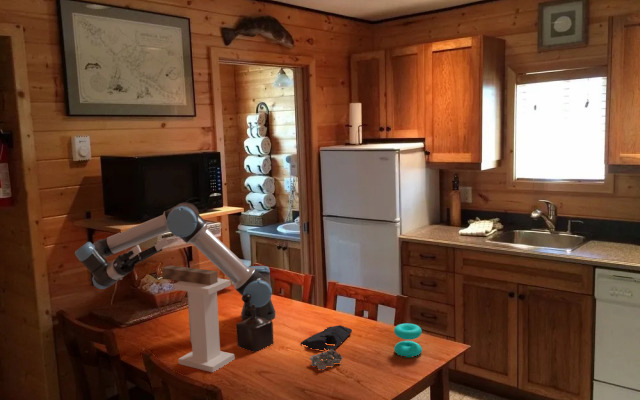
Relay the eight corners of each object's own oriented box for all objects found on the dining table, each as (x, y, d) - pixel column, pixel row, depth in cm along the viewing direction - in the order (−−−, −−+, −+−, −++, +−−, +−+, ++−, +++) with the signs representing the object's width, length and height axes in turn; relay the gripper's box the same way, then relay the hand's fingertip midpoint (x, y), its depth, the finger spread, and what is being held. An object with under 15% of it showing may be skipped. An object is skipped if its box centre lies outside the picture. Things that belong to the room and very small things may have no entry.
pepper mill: (275, 343, 214) (273, 299, 212) (254, 352, 206) (252, 306, 203) (249, 334, 224) (246, 292, 222) (228, 343, 216) (225, 299, 213)
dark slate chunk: (358, 335, 221) (358, 324, 220) (330, 355, 203) (330, 343, 202) (326, 328, 229) (326, 317, 229) (296, 347, 211) (296, 335, 210)
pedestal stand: (178, 363, 198) (173, 283, 194) (201, 351, 208) (196, 275, 204) (213, 372, 190) (208, 289, 186) (234, 359, 201) (230, 280, 196)
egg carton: (320, 373, 188) (319, 361, 188) (308, 365, 194) (307, 354, 194) (344, 364, 194) (344, 353, 194) (332, 357, 200) (332, 346, 200)
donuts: (410, 320, 207) (427, 328, 198) (410, 345, 208) (427, 354, 200) (388, 325, 202) (404, 334, 194) (389, 351, 204) (405, 361, 195)
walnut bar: (163, 278, 201) (162, 268, 200) (170, 275, 204) (170, 265, 204) (210, 285, 191) (209, 274, 190) (217, 282, 194) (217, 271, 194)
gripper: (149, 267, 226) (181, 246, 215) (98, 283, 204) (131, 261, 194) (141, 251, 226) (172, 229, 216) (90, 265, 205) (122, 242, 195)
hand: (153, 244), depth 205 cm, fingers open, 13 cm apart
